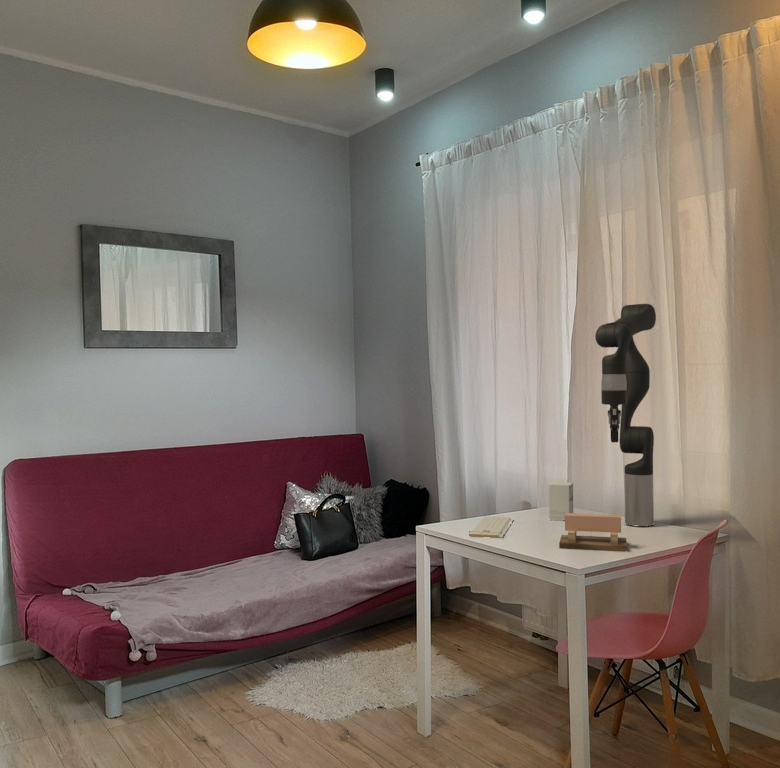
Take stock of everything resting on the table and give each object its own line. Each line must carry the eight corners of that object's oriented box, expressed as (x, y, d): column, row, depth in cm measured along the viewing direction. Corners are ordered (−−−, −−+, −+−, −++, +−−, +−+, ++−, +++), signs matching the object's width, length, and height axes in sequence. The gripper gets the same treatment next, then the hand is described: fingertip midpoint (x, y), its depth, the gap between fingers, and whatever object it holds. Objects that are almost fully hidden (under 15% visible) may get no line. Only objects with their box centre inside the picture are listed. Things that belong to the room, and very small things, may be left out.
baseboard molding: (518, 522, 264) (484, 520, 267) (518, 513, 263) (484, 512, 267) (506, 540, 234) (468, 538, 237) (506, 531, 234) (468, 529, 237)
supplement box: (569, 521, 260) (569, 485, 260) (548, 520, 263) (548, 484, 263) (574, 518, 267) (573, 482, 267) (553, 516, 270) (553, 481, 270)
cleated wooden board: (561, 539, 231) (561, 525, 231) (626, 542, 226) (625, 527, 226) (559, 548, 219) (559, 532, 219) (627, 551, 214) (627, 535, 214)
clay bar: (620, 530, 222) (620, 515, 222) (621, 532, 218) (621, 517, 218) (565, 527, 227) (565, 513, 227) (565, 530, 223) (564, 515, 223)
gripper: (627, 389, 224) (627, 443, 224) (626, 388, 238) (626, 439, 238) (601, 389, 226) (601, 443, 226) (601, 388, 240) (602, 439, 240)
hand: (614, 441), depth 232 cm, fingers open, 8 cm apart
